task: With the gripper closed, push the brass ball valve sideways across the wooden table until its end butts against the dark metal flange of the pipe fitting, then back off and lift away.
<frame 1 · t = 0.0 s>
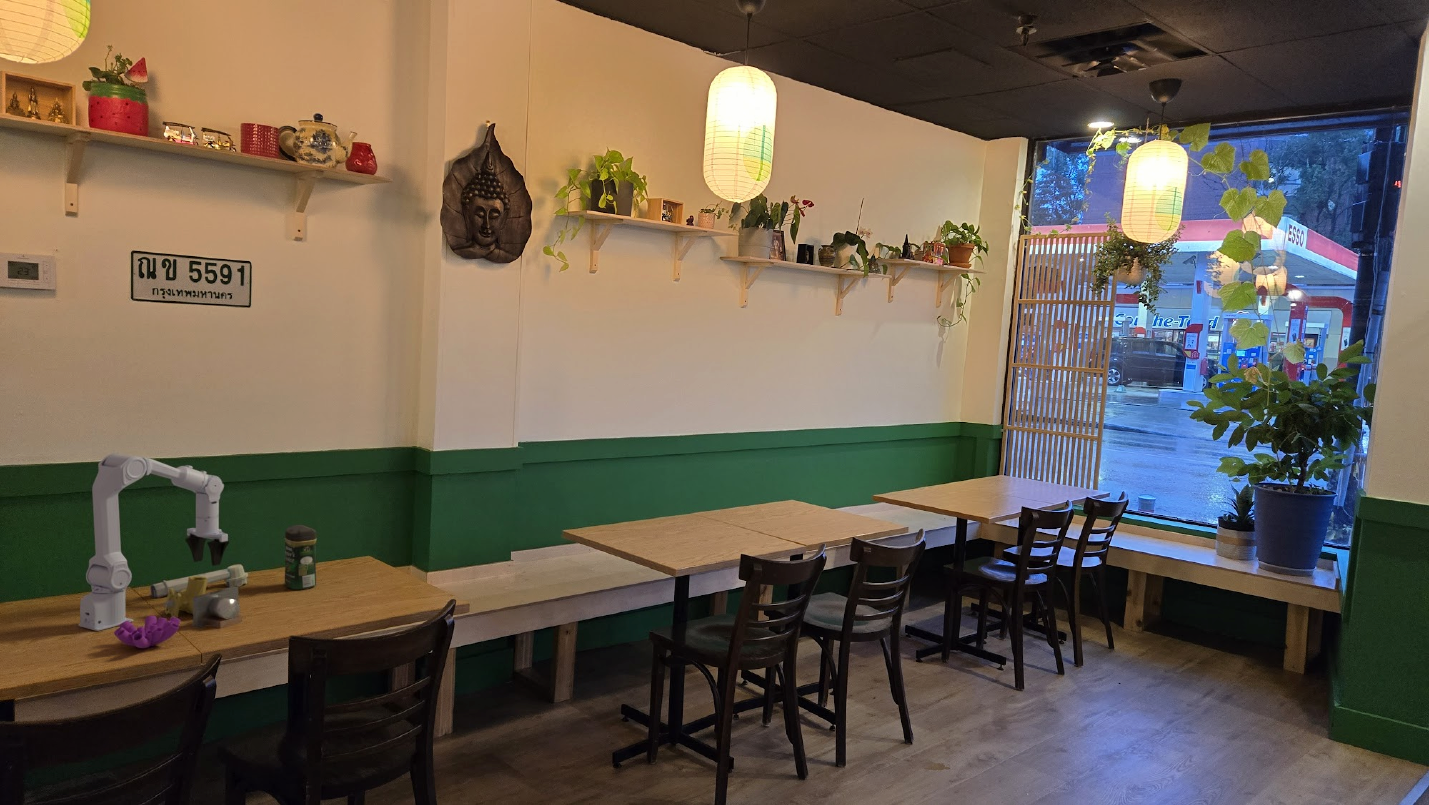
hand: (207, 563, 265), 10 cm above the table, fingers open, 7 cm apart
fitting: (214, 621, 246), on the table
grey long bar piece: (200, 591, 273), on the table
pipe connector assembly: (148, 645, 227), on the table
ball valve: (186, 615, 250), on the table
coffee jar: (300, 587, 281), on the table
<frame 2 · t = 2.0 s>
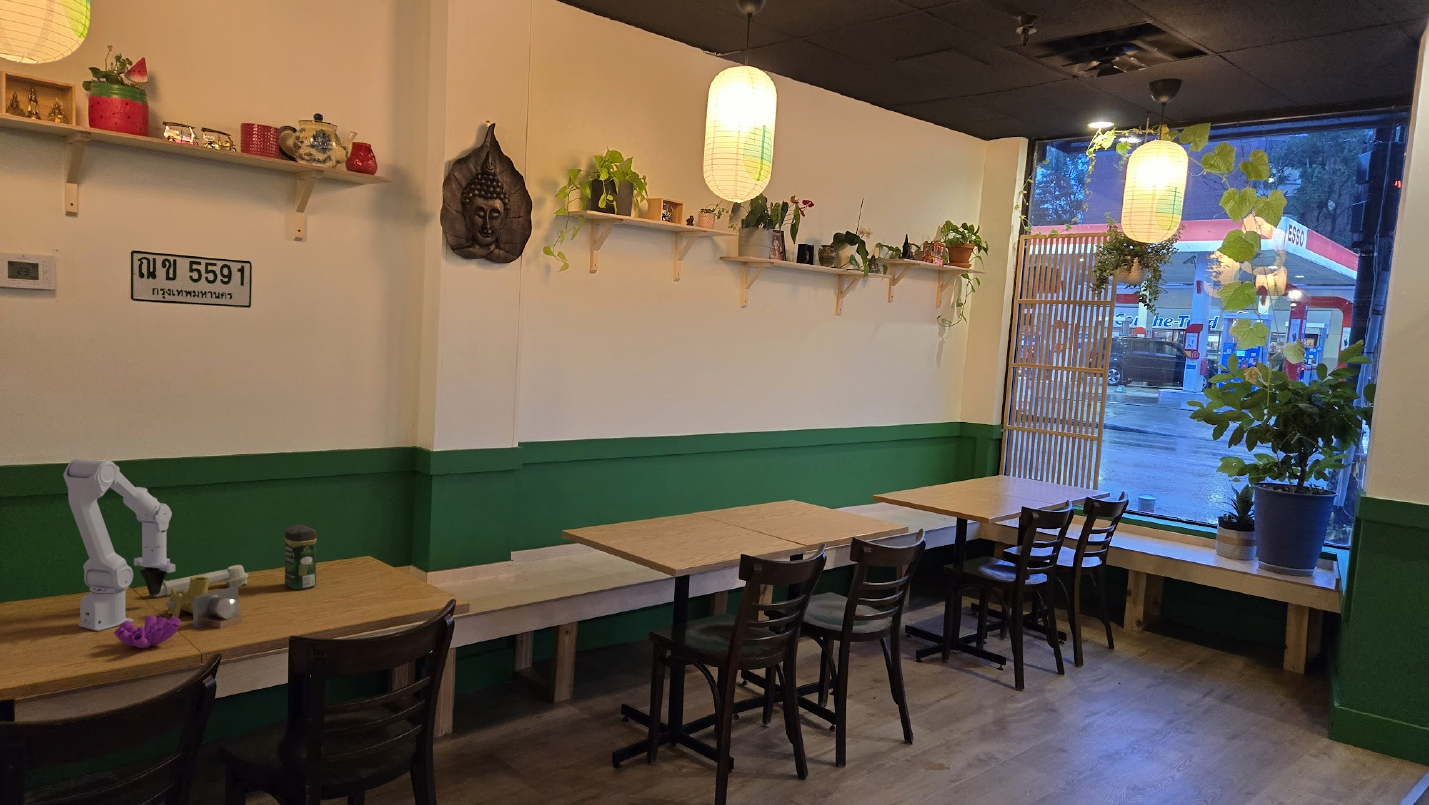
hand: (154, 594, 256), 3 cm above the table, fingers closed
nothing on the table moved.
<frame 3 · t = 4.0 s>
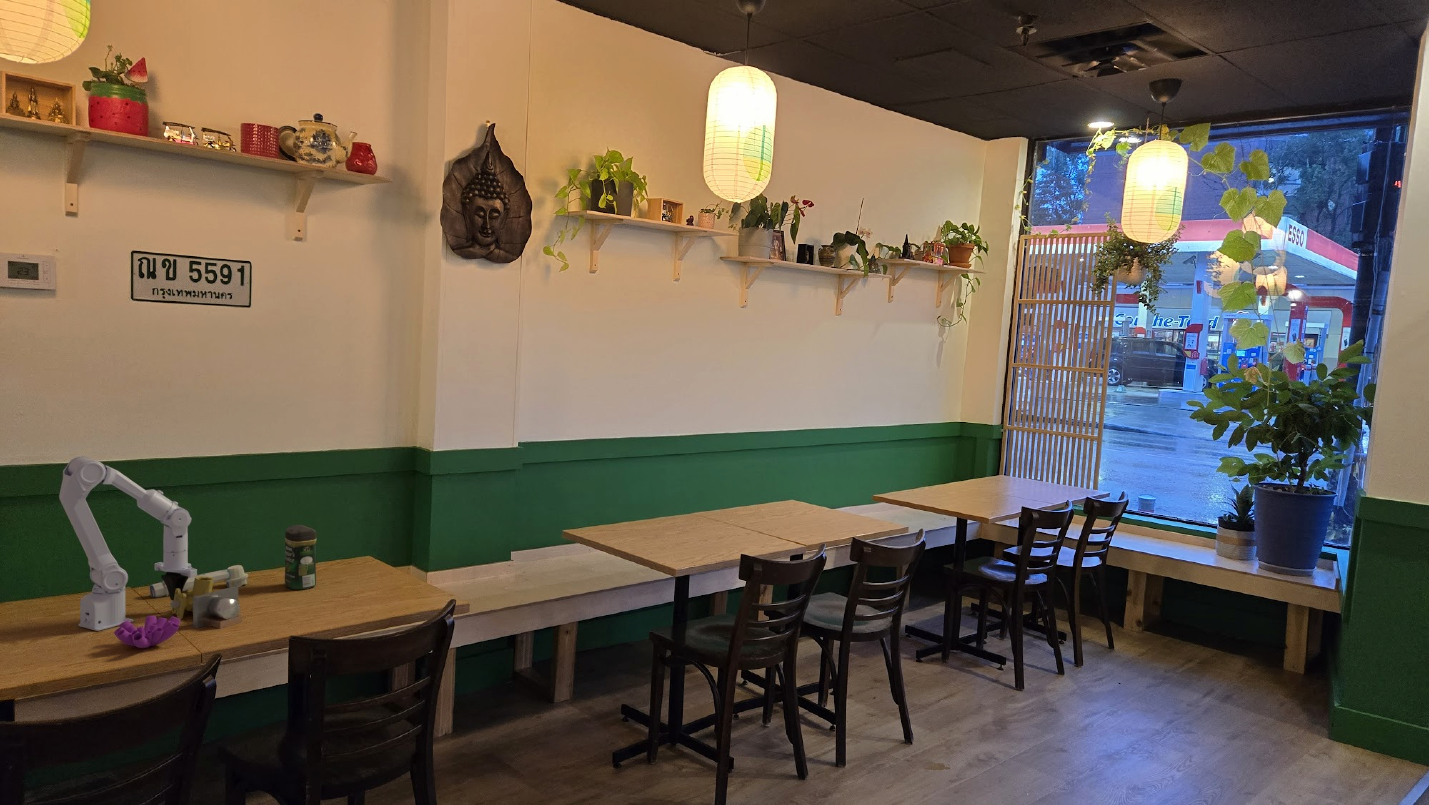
hand: (175, 599, 252), 3 cm above the table, fingers closed
ball valve: (192, 615, 250), on the table, touching gripper
everything else where it was.
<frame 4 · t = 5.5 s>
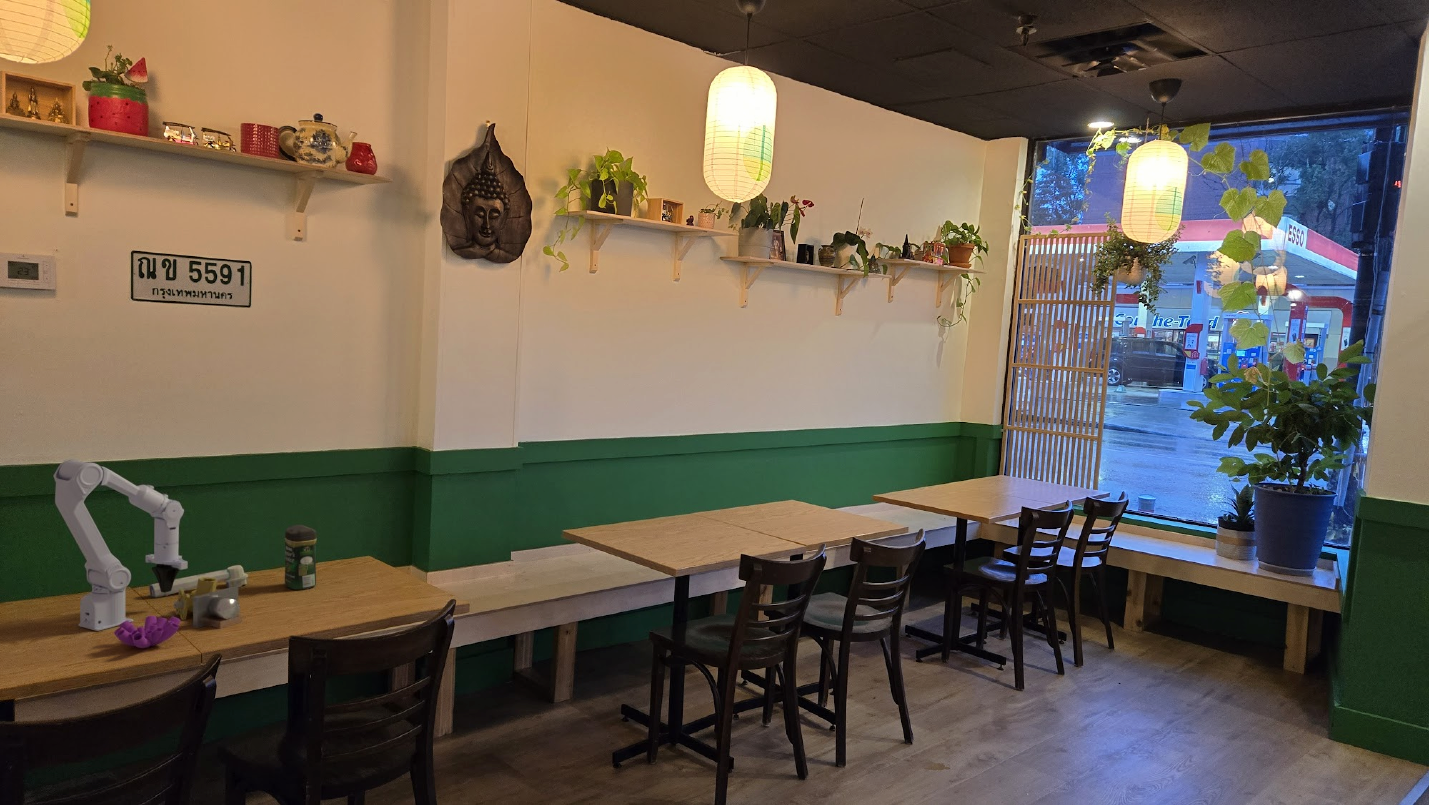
hand: (166, 591, 253), 5 cm above the table, fingers closed
ball valve: (195, 616, 250), on the table
everything else where it was.
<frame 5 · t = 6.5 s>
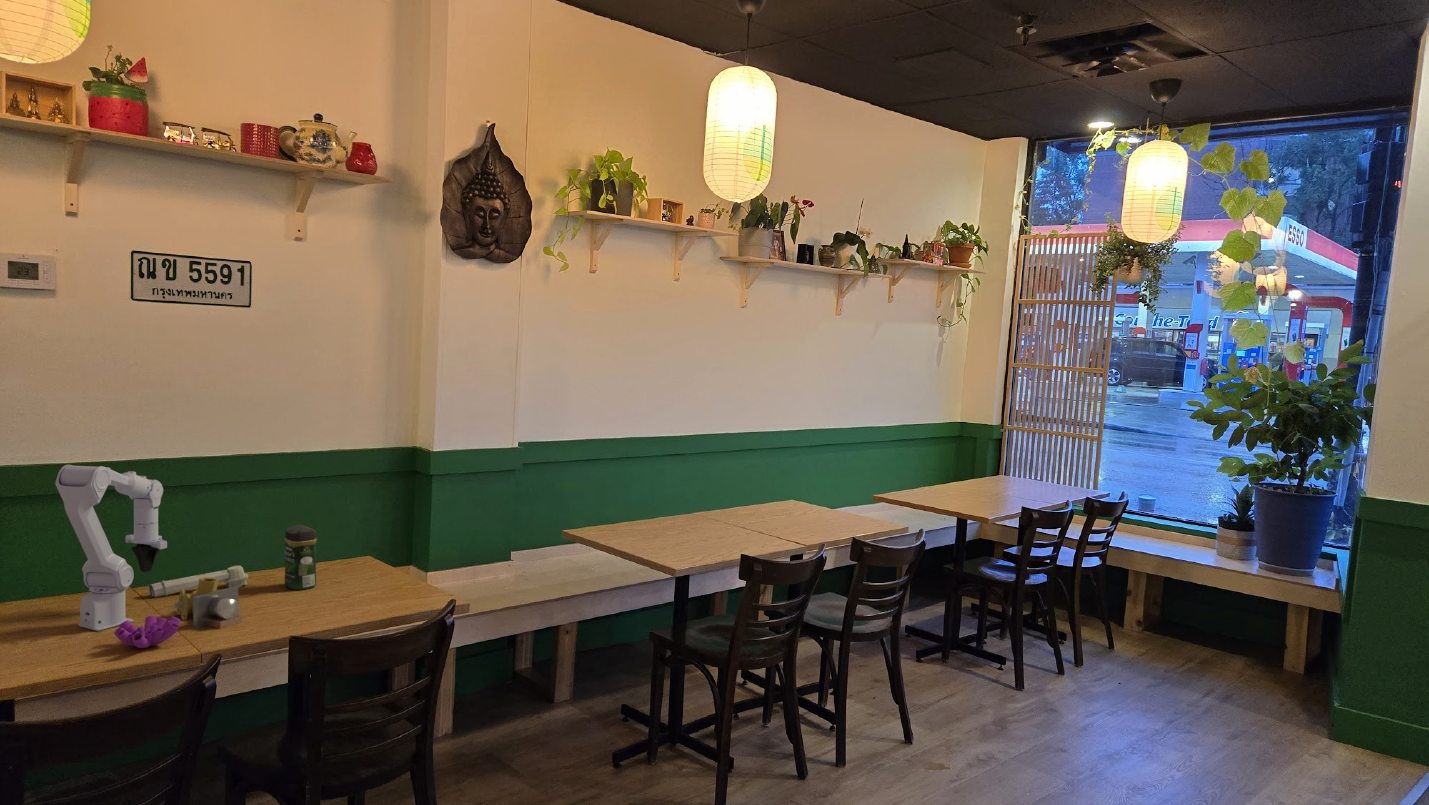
hand: (146, 571, 255), 10 cm above the table, fingers closed
nothing on the table moved.
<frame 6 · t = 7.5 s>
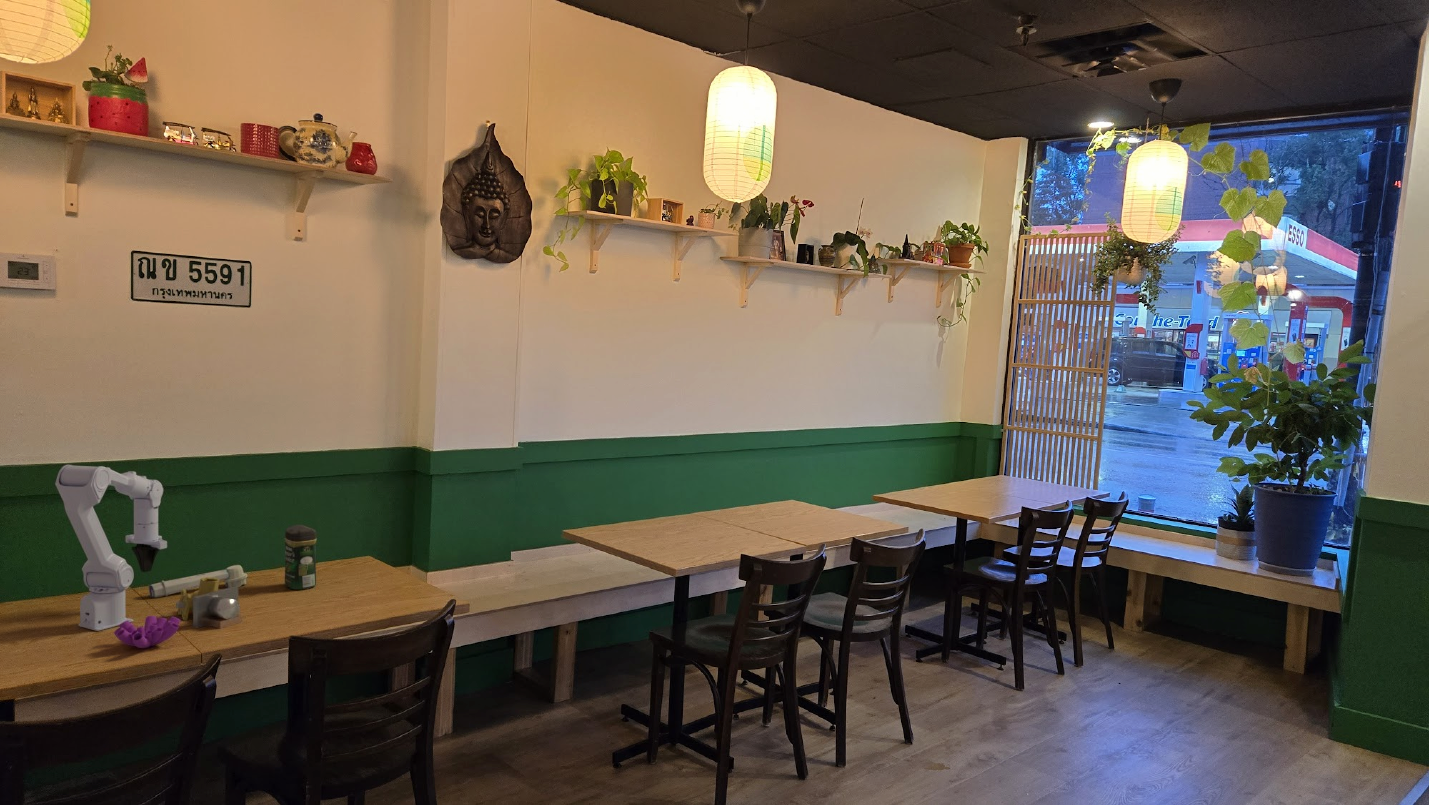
hand: (146, 571, 255), 10 cm above the table, fingers closed
nothing on the table moved.
at the end: ball valve 1.1 cm from the target spot on the fitting, point 0.0 cm above the fitting's base; ball valve tilted 0°; ball valve moved 3.5 cm from its start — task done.
